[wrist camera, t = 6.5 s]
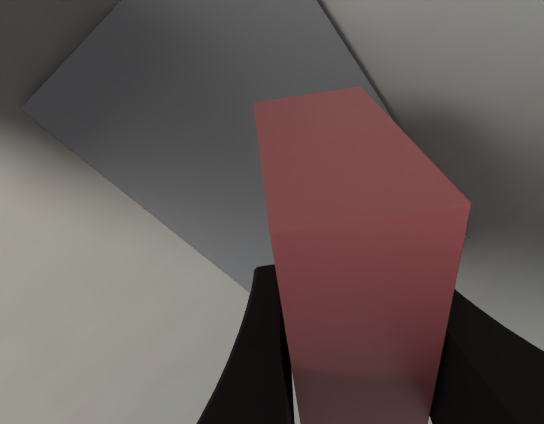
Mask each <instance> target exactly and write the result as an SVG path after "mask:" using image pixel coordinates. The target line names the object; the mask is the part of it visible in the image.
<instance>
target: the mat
mask: <svg viewBox="0 0 544 424" xmlns="http://www.w3.org/2000/svg"><path fill="white" fill-rule="evenodd" d="M359 86H361V87H362V88H363V89H364V90H365V92H366V93H367V94H368V95H369V96H370V97H371V98H372V99H373V100H374V101H375V102H376V103H377V104H378V105H379V106H380V107H381V108H382V109H383V111H384V112H385V113H386V114H387V115H388V116H389V117H390V118H391V119H392V120H393V118H392V117H391V115H390V114H389V112H388V111H387V109H386V107H385V106H384V104H383V103H382V101H381V100H380V98H379V97H378V95H377V93H376V92H375V90H374V89H373V87H372V86H371V84H370V83H369V81H368V79H367V78H366V76H365V75H364V73H363V72H362V70H361V69H360V67H359V65H358V64H357V62H356V61H355V59H354V58H353V56H352V55H351V53H350V51H349V50H348V48H347V47H346V45H345V44H344V42H343V41H342V39H341V37H340V36H339V34H338V33H337V31H336V30H335V28H334V27H333V25H332V23H331V22H330V20H329V19H328V17H327V16H326V14H325V13H324V11H323V9H322V8H321V6H320V5H319V3H318V2H317V0H121V1H120V2H119V3H118V4H117V5H116V6H115V7H114V8H113V9H112V10H111V12H110V13H109V14H108V15H107V16H106V17H105V18H104V19H103V20H102V21H101V22H100V23H99V24H98V26H97V27H96V28H95V29H94V30H93V31H92V32H91V33H90V34H89V35H88V36H87V37H86V38H85V40H84V41H83V42H82V43H81V44H80V45H79V46H78V47H77V48H76V49H75V50H74V51H73V52H72V54H71V55H70V56H69V57H68V58H67V59H66V60H65V61H64V62H63V63H62V64H61V65H60V66H59V68H58V69H57V70H56V71H55V72H54V73H53V74H52V75H51V76H50V77H49V78H48V79H47V80H46V82H45V83H44V84H43V85H42V86H41V87H40V88H39V89H38V90H37V91H36V92H35V93H34V94H33V96H32V97H31V98H30V99H29V100H28V101H27V102H26V103H25V104H24V105H23V106H22V107H21V109H20V110H22V111H23V112H24V113H25V114H27V115H28V116H29V117H30V118H32V119H33V120H34V121H35V122H37V123H38V124H39V125H40V126H42V127H43V128H44V129H45V130H47V131H48V132H49V133H50V134H52V135H53V136H54V137H55V138H57V139H58V140H59V141H60V142H62V143H63V144H64V145H65V146H67V147H68V148H69V149H70V150H72V151H73V152H74V153H75V154H77V155H78V156H79V157H80V158H82V159H83V160H84V161H85V162H87V163H88V164H89V165H90V166H92V167H93V168H94V169H95V170H97V171H98V172H99V173H100V174H102V175H103V176H104V177H105V178H107V179H108V180H109V181H110V182H112V183H113V184H114V185H115V186H117V187H118V188H119V189H120V190H122V191H123V192H124V193H125V194H127V195H128V196H129V197H130V198H132V199H133V200H134V201H136V202H137V203H138V204H139V205H141V206H142V207H143V208H144V209H146V210H147V211H148V212H149V213H151V214H152V215H153V216H154V217H156V218H157V219H158V220H159V221H161V222H162V223H163V224H164V225H166V226H167V227H168V228H169V229H171V230H172V231H173V232H174V233H176V234H177V235H178V236H179V237H181V238H182V239H183V240H184V241H186V242H187V243H188V244H189V245H191V246H192V247H193V248H194V249H196V250H197V251H198V252H199V253H201V254H202V255H203V256H204V257H206V258H207V259H208V260H209V261H211V262H212V263H213V264H214V265H216V266H217V267H218V268H219V269H221V270H222V271H223V272H224V273H226V274H227V275H228V276H229V277H231V278H232V279H233V280H234V281H236V282H237V283H238V284H239V285H241V286H242V287H243V288H244V289H246V290H247V291H248V292H249V293H250V292H251V287H252V282H253V274H254V270H255V269H256V267H259V266H265V265H272V264H275V263H274V257H273V251H272V244H271V238H270V232H269V224H268V216H267V209H266V201H265V193H264V185H263V178H262V170H261V162H260V154H259V147H258V139H257V131H256V123H255V116H254V108H253V103H254V102H260V101H267V100H273V99H280V98H287V97H293V96H300V95H306V94H313V93H320V92H326V91H333V90H339V89H346V88H352V87H359ZM393 121H394V120H393ZM394 122H395V121H394ZM467 238H469V237H468V235H467V234H466V232H465V237H464V240H465V239H467Z"/></svg>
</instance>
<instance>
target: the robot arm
mask: <svg viewBox="0 0 544 424" xmlns="http://www.w3.org/2000/svg"><path fill="white" fill-rule="evenodd" d="M429 416H430V418H431V421H432V424H544V351H542V350H541V349H539V348H537V347H536V346H534V345H532V344H531V343H529V342H528V341H526V340H525V339H523V338H521V337H520V336H518V335H517V334H515V333H514V332H512V331H510V330H509V329H507V328H506V327H504V326H503V325H502V324H500V323H499V322H497V321H496V320H494V319H493V318H492V317H490V316H489V315H487V314H486V313H485V312H483V311H482V310H481V309H479V308H478V307H477V306H475V305H474V304H473V303H471V302H470V301H469V300H467V299H466V298H465V297H464V296H462V295H461V294H460V293H459V292H457V291H456V290H455V289H454V293H453V298H452V303H451V308H450V313H449V318H448V323H447V328H446V334H445V339H444V344H443V349H442V354H441V359H440V364H439V369H438V374H437V379H436V384H435V389H434V394H433V399H432V404H431V409H430V414H429ZM197 424H294V407H293V388H292V369H291V361H290V355H289V349H288V343H287V337H286V331H285V324H284V318H283V312H282V306H281V300H280V294H279V287H278V281H277V275H276V269H275V264H272V265H265V266H259V267H256V269H255V270H254V274H253V282H252V287H251V292H250V296H249V300H248V304H247V308H246V311H245V314H244V317H243V321H242V324H241V327H240V330H239V333H238V335H237V338H236V341H235V343H234V346H233V349H232V351H231V354H230V356H229V359H228V361H227V364H226V366H225V368H224V371H223V373H222V375H221V377H220V379H219V381H218V383H217V386H216V388H215V390H214V392H213V394H212V396H211V398H210V400H209V401H208V403H207V405H206V407H205V409H204V411H203V413H202V415H201V417H200V419H199V420H198V422H197Z"/></svg>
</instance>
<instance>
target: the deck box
mask: <svg viewBox="0 0 544 424" xmlns="http://www.w3.org/2000/svg"><path fill="white" fill-rule="evenodd" d="M253 108H254V116H255V123H256V131H257V139H258V147H259V154H260V162H261V170H262V178H263V185H264V193H265V201H266V209H267V216H268V224H269V232H270V238H271V244H272V251H273V257H274V263H275V269H276V275H277V281H278V287H279V294H280V300H281V306H282V312H283V318H284V324H285V331H286V337H287V343H288V349H289V355H290V361H291V367H292V374H293V380H294V386H295V392H296V398H297V404H298V411H299V417H300V423H301V424H428V419H429V414H430V409H431V404H432V399H433V394H434V389H435V384H436V379H437V374H438V369H439V364H440V359H441V354H442V349H443V344H444V339H445V334H446V328H447V323H448V318H449V313H450V308H451V303H452V298H453V293H454V288H455V283H456V278H457V273H458V268H459V263H460V258H461V253H462V248H463V243H464V237H465V232H466V227H467V222H468V217H469V212H470V207H471V202H470V201H469V200H468V199H467V198H466V197H465V196H464V195H463V194H462V193H461V192H460V191H459V190H458V189H457V188H456V186H455V185H454V184H453V183H452V182H451V181H450V180H449V179H448V178H447V177H446V176H445V175H444V174H443V173H442V172H441V171H440V170H439V169H438V167H437V166H436V165H435V164H434V163H433V162H432V161H431V160H430V159H429V158H428V157H427V156H426V155H425V154H424V153H423V152H422V151H421V150H420V148H419V147H418V146H417V145H416V144H415V143H414V142H413V141H412V140H411V139H410V138H409V137H408V136H407V135H406V134H405V133H404V132H403V131H402V130H401V128H400V127H399V126H398V125H397V124H396V123H395V122H394V121H393V120H392V119H391V118H390V117H389V116H388V115H387V114H386V113H385V112H384V111H383V109H382V108H381V107H380V106H379V105H378V104H377V103H376V102H375V101H374V100H373V99H372V98H371V97H370V96H369V95H368V94H367V93H366V92H365V90H364V89H363V88H362V87H361V86H359V87H352V88H346V89H339V90H333V91H326V92H320V93H313V94H306V95H300V96H293V97H287V98H280V99H273V100H267V101H260V102H254V103H253Z"/></svg>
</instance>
